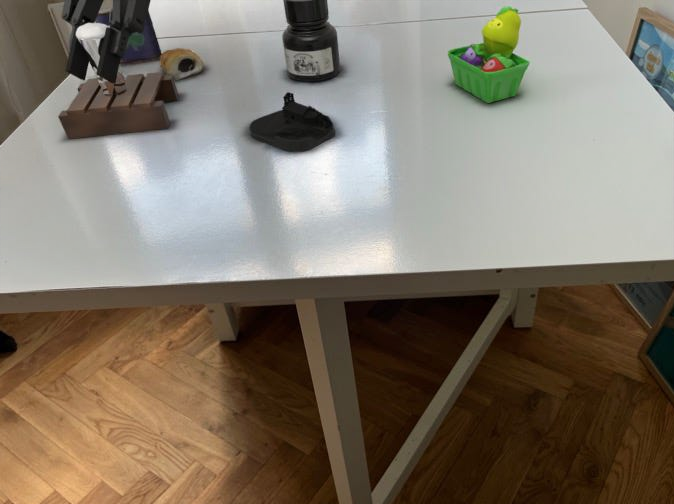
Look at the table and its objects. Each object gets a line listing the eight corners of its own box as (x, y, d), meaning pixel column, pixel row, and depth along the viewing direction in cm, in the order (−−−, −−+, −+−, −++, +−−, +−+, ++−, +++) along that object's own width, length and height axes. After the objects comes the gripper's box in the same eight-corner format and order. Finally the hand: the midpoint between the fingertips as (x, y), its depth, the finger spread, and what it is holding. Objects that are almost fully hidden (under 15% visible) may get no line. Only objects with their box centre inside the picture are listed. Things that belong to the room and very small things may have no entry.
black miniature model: (239, 132, 78) (231, 98, 75) (291, 107, 83) (285, 74, 80) (297, 156, 72) (291, 120, 68) (349, 128, 77) (346, 93, 74)
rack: (68, 139, 79) (55, 112, 76) (89, 104, 88) (78, 79, 85) (168, 128, 80) (159, 101, 77) (179, 95, 89) (171, 70, 86)
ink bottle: (277, 80, 92) (263, 2, 84) (298, 61, 98) (287, -14, 90) (331, 85, 89) (323, 4, 81) (350, 65, 95) (343, -12, 87)
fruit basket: (443, 83, 88) (445, 6, 80) (489, 71, 90) (496, -4, 83) (485, 109, 80) (492, 26, 72) (534, 95, 83) (546, 14, 75)
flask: (110, 67, 100) (86, 2, 93) (111, 61, 102) (88, -2, 95) (163, 59, 102) (144, -5, 95) (162, 54, 104) (143, -9, 97)
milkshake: (141, 87, 81) (117, 14, 75) (107, 99, 78) (79, 24, 72) (126, 79, 84) (101, 8, 77) (92, 91, 81) (63, 18, 74)
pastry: (153, 67, 99) (146, 45, 96) (189, 58, 102) (183, 36, 99) (172, 82, 93) (165, 59, 91) (210, 72, 96) (204, 49, 93)
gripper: (54, -107, 76) (17, 59, 75) (161, -108, 71) (122, 70, 70) (96, -69, 83) (63, 83, 82) (196, -67, 78) (161, 94, 77)
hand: (90, 76), depth 76 cm, fingers closed on milkshake, 5 cm apart
